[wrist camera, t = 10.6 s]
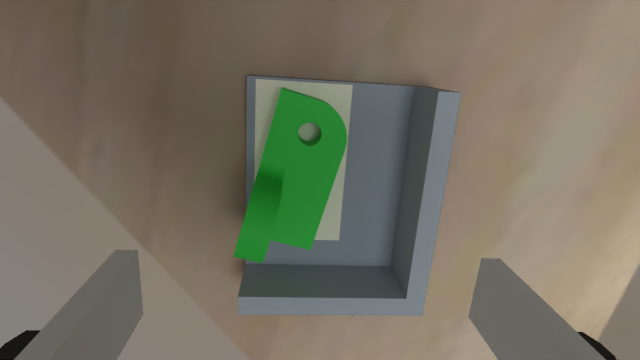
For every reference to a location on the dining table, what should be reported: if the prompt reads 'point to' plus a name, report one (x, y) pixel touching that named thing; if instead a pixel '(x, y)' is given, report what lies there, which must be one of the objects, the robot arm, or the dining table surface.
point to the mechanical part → (292, 176)
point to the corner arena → (358, 201)
